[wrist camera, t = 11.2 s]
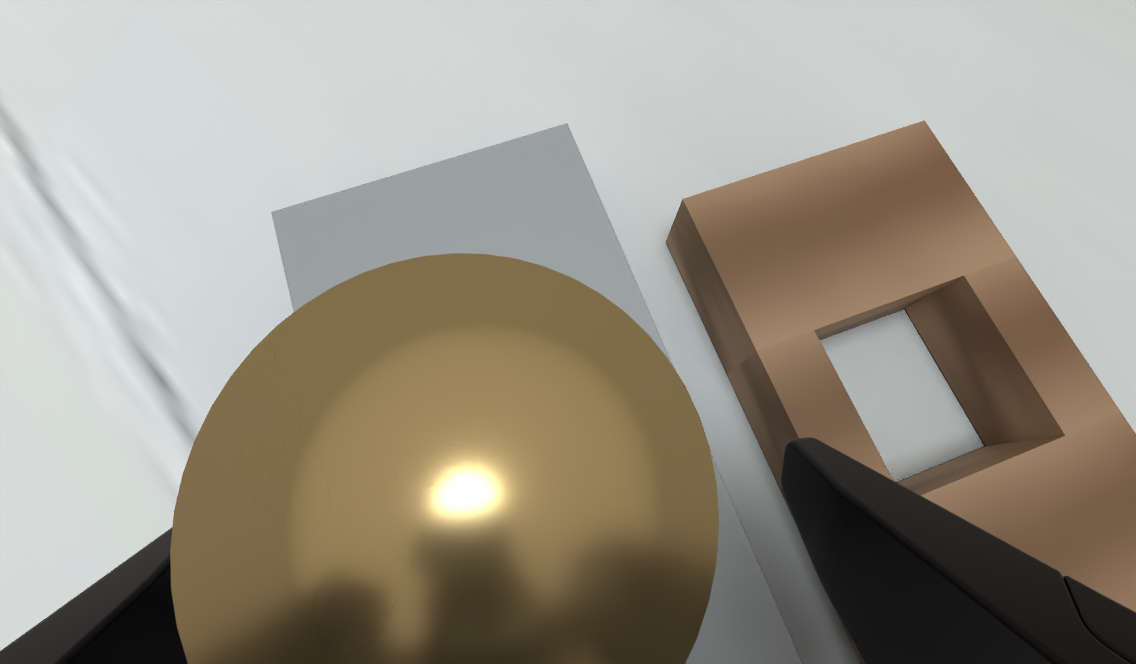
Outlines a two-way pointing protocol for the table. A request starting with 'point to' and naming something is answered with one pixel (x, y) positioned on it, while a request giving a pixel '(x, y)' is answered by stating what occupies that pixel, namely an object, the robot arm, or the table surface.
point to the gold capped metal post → (448, 482)
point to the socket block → (947, 326)
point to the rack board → (541, 236)
